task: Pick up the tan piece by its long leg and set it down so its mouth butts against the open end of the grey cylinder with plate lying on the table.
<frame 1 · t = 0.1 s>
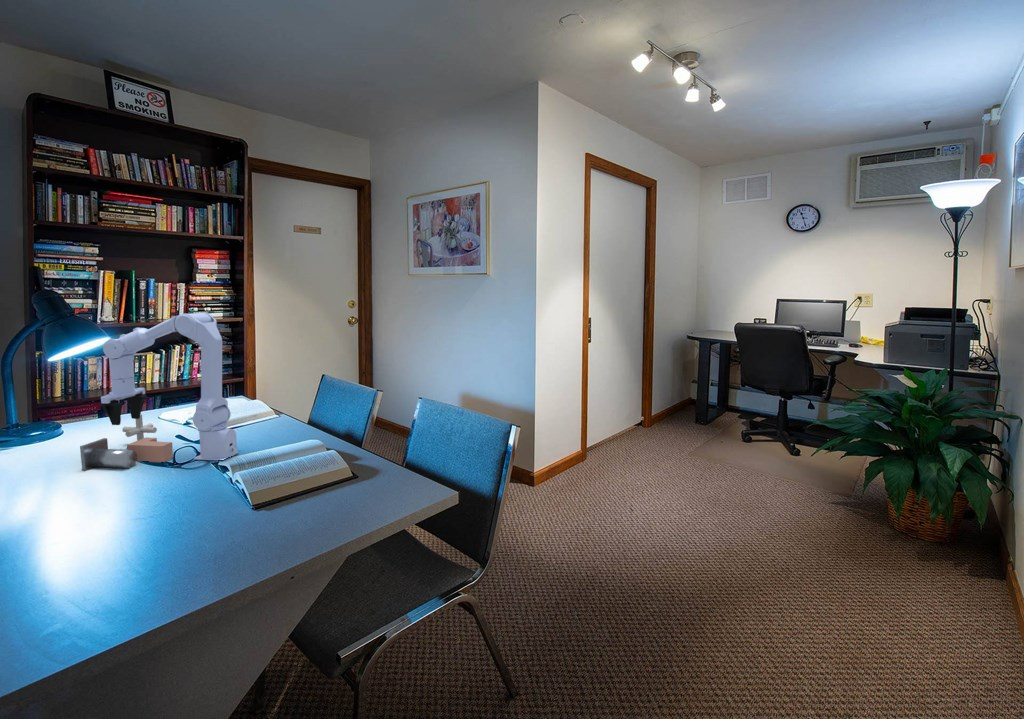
hand: (126, 421, 160), 10 cm above the table, fingers open, 7 cm apart
grey cylinder with plate: (114, 466, 149), on the table
pipe connector: (140, 445, 170), on the table
tan piece: (142, 459, 156), on the table
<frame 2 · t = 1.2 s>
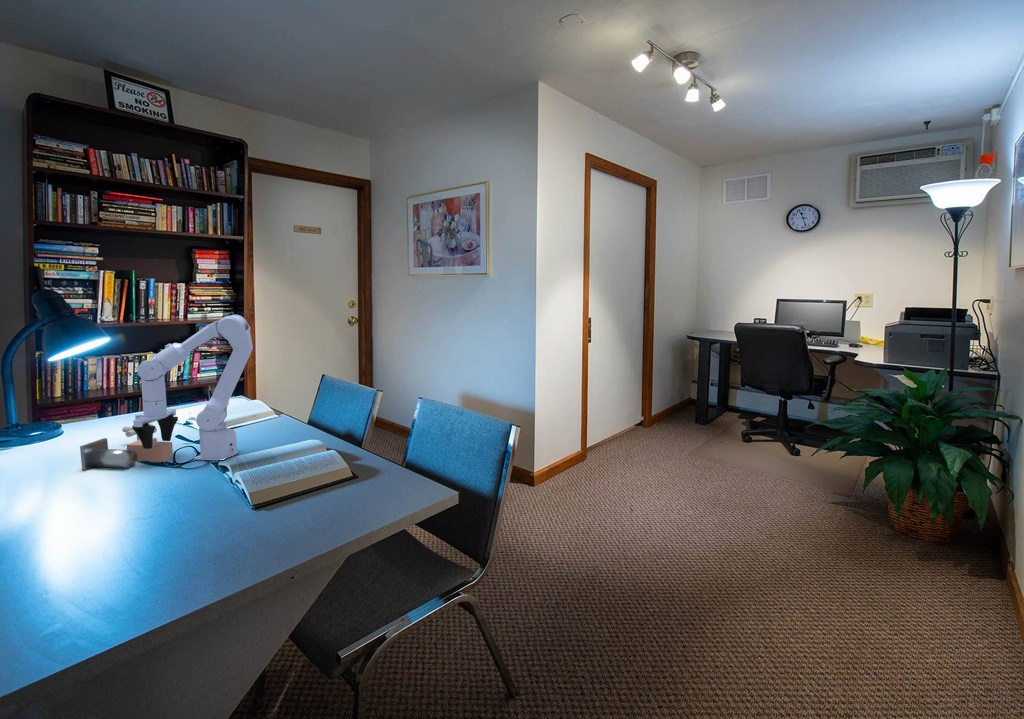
hand: (157, 444, 155), 5 cm above the table, fingers open, 7 cm apart
nothing on the table moved.
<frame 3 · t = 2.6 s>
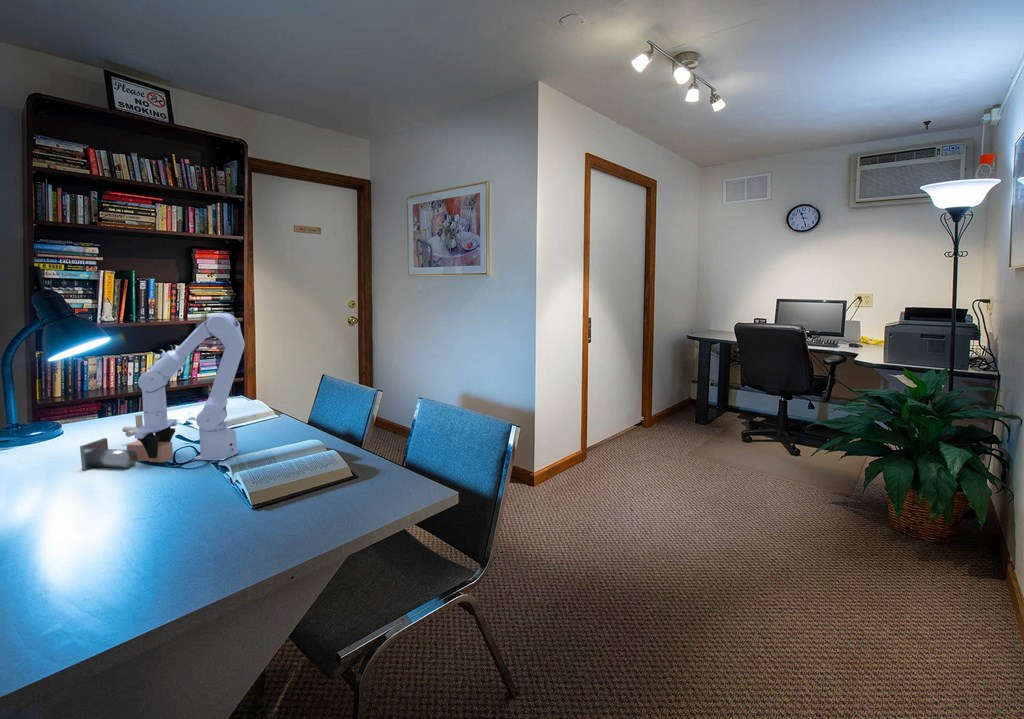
hand: (158, 455, 156), 1 cm above the table, fingers closed on tan piece, 4 cm apart
tan piece: (142, 459, 156), on the table, touching gripper
everything else where it was.
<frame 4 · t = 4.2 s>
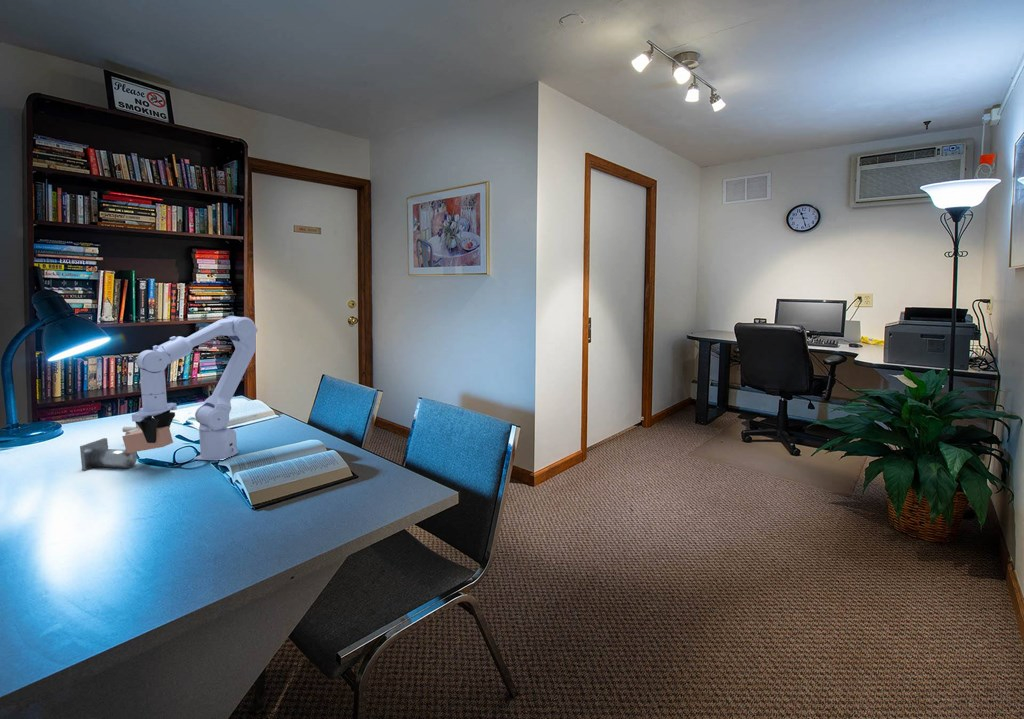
hand: (157, 440, 148), 8 cm above the table, fingers closed on tan piece, 4 cm apart
tan piece: (142, 449, 148), point 5 cm above the table, tilted 12°, touching gripper
everything else where it was.
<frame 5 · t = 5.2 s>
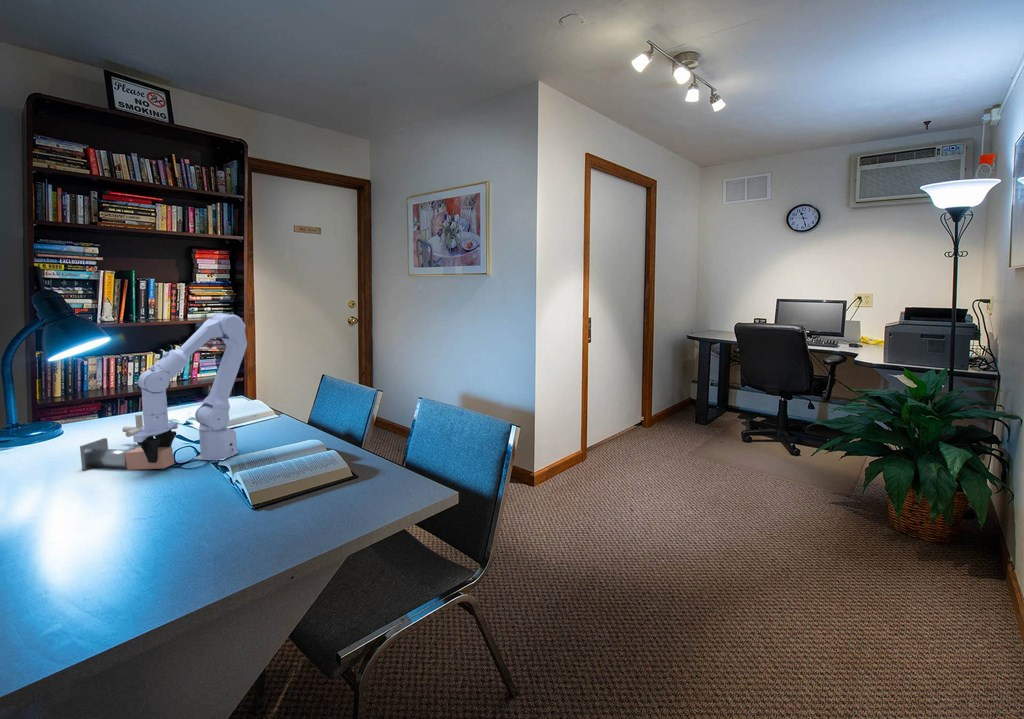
hand: (158, 459, 148), 3 cm above the table, fingers closed on tan piece, 4 cm apart
tan piece: (142, 467, 149), on the table, touching gripper
everything else where it was.
when the fingers open (2 cm above the table, at t = 6.1 s): tan piece stays where it is, on the table.
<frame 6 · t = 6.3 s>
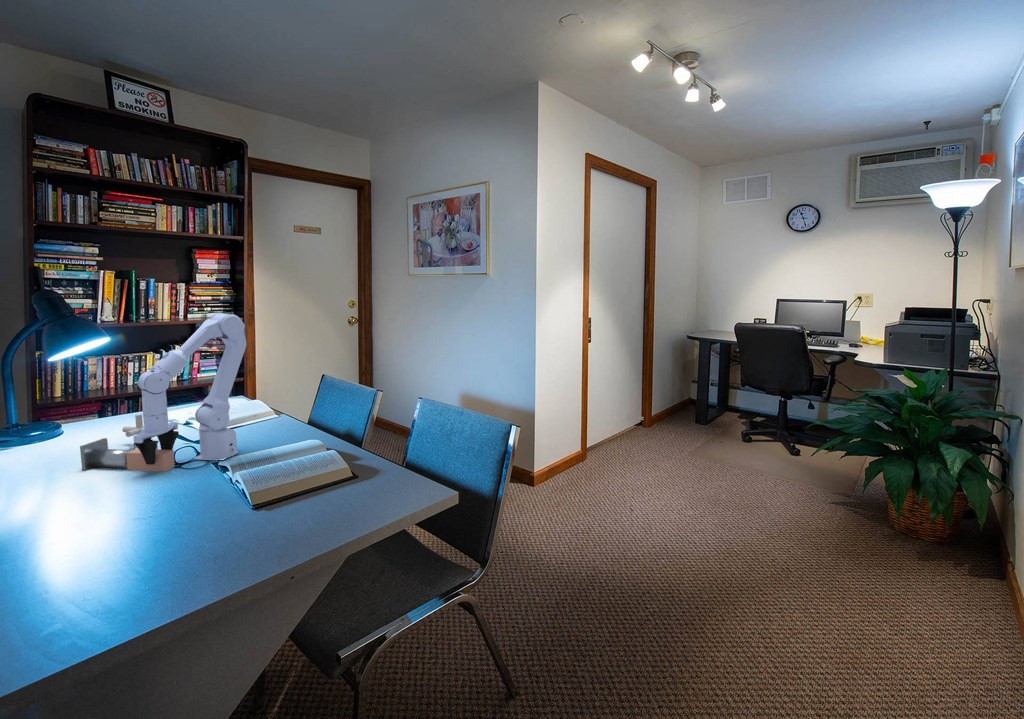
hand: (158, 460, 148), 2 cm above the table, fingers open, 6 cm apart
tan piece: (143, 467, 149), on the table
everything else where it was.
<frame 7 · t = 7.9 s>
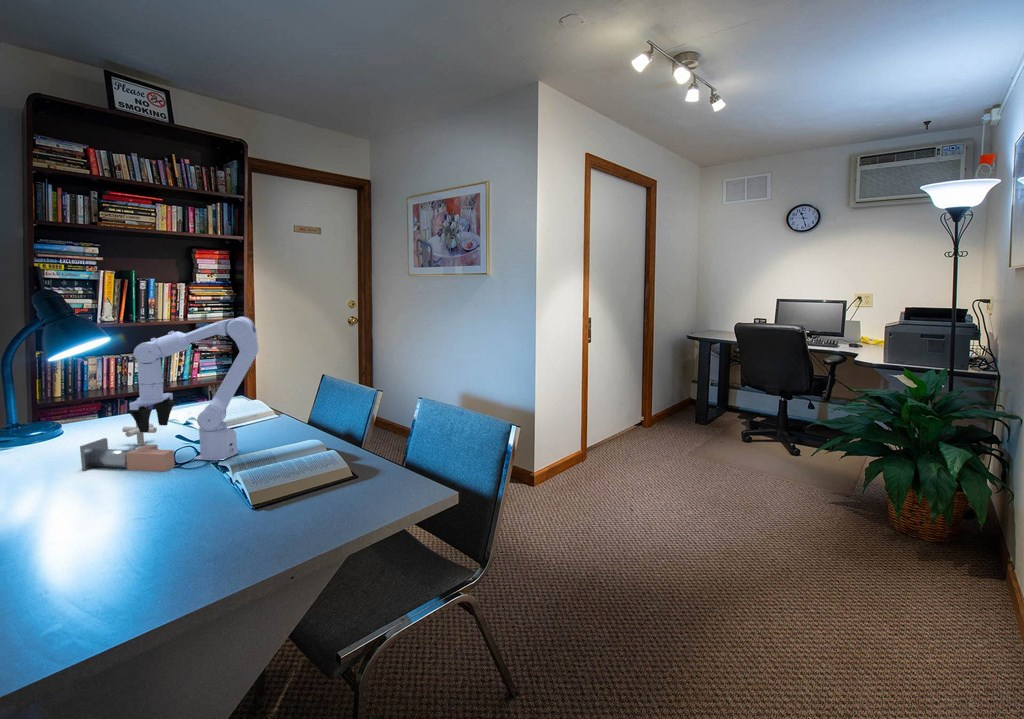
hand: (154, 428, 154), 10 cm above the table, fingers open, 7 cm apart
nothing on the table moved.
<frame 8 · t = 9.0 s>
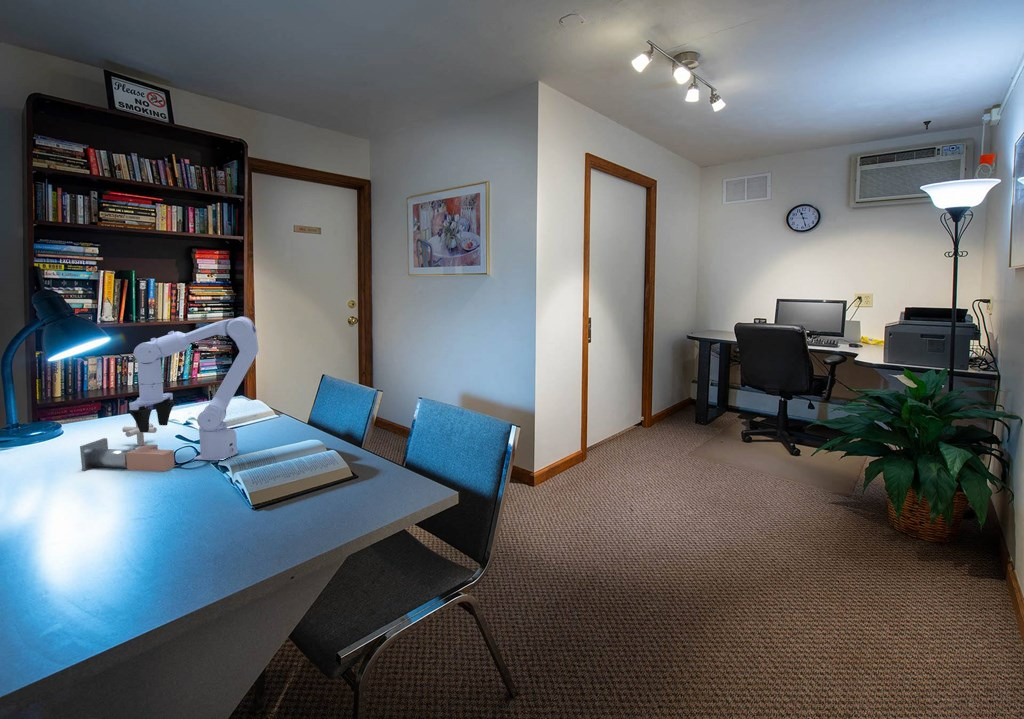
hand: (154, 428, 154), 10 cm above the table, fingers open, 7 cm apart
nothing on the table moved.
at the end: tan piece 0.1 cm from the target spot, on the table; tan piece tilted 0°; the gripper is holding nothing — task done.
